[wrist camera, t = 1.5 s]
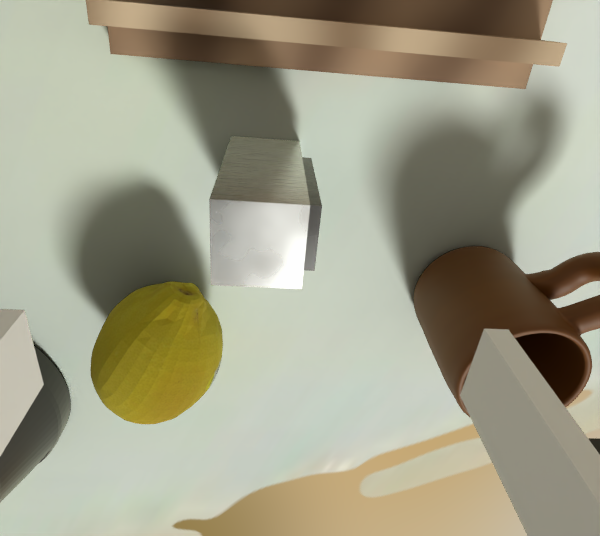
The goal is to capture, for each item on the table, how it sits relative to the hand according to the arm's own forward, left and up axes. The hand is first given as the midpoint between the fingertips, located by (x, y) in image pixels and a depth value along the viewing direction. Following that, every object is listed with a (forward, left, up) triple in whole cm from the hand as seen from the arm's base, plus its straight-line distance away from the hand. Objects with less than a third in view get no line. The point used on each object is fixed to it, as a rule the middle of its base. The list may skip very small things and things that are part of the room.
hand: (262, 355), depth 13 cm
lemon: (-6, -11, -17) cm, 21 cm away
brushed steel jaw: (0, 0, -17) cm, 17 cm away
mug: (+16, -6, -17) cm, 24 cm away
